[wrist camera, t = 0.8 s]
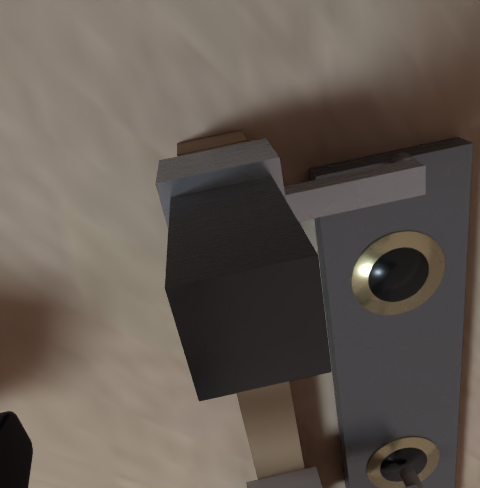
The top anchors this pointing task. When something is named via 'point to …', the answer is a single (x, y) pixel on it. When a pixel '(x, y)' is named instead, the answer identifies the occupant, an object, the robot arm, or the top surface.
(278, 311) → the sliding leg
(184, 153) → the beam
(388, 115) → the top surface
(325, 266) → the hole plate
